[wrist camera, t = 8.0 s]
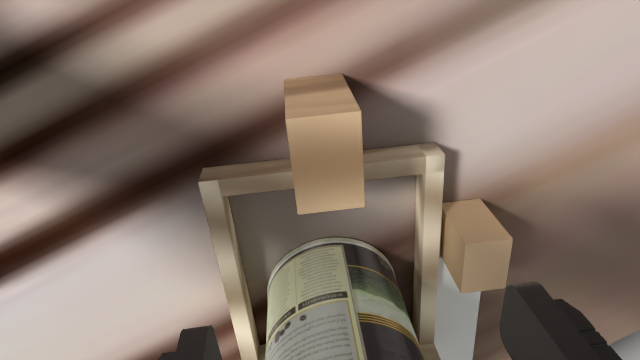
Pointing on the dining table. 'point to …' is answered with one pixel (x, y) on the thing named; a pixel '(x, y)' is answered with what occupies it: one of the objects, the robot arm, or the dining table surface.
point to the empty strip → (467, 273)
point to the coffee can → (337, 305)
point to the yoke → (327, 194)
